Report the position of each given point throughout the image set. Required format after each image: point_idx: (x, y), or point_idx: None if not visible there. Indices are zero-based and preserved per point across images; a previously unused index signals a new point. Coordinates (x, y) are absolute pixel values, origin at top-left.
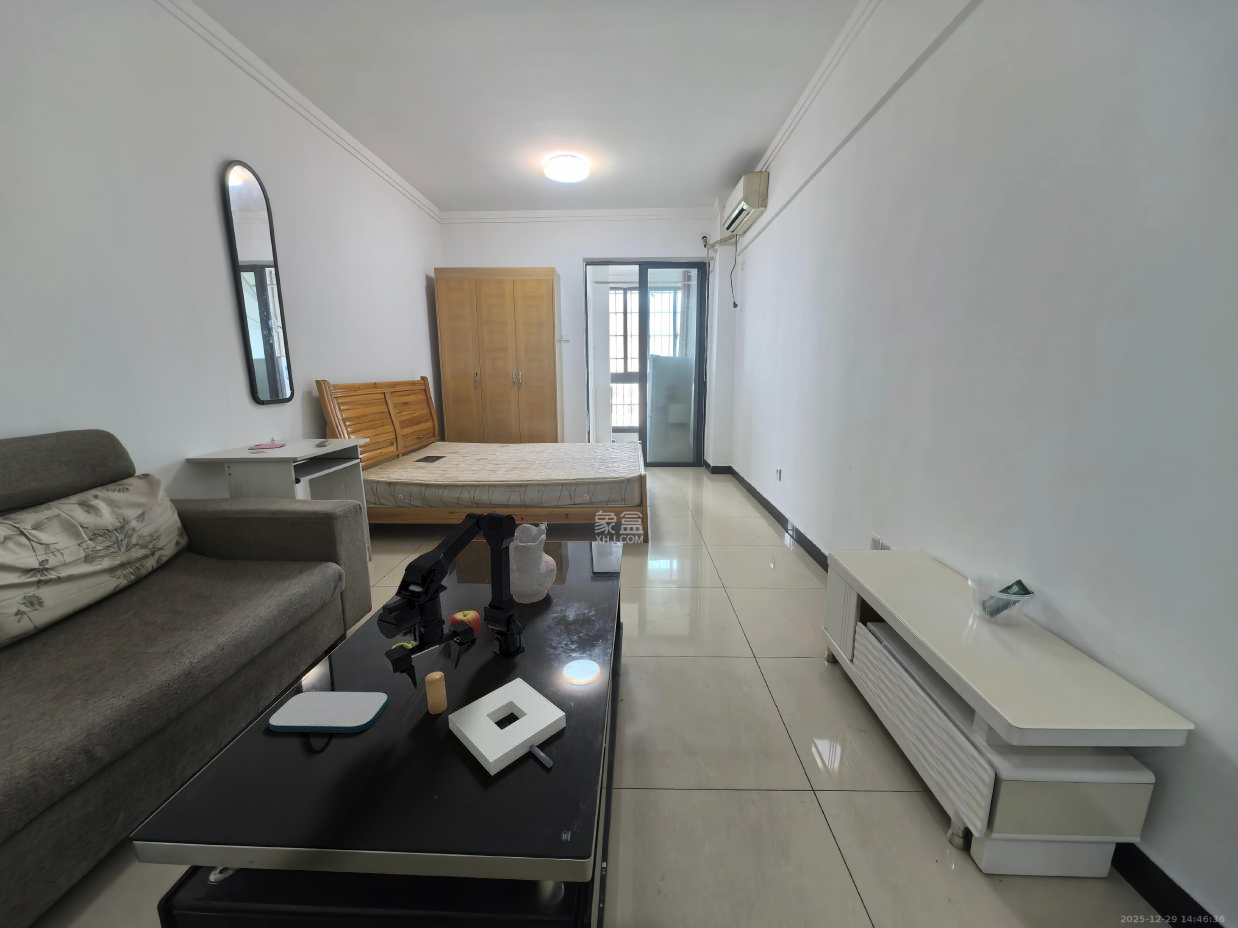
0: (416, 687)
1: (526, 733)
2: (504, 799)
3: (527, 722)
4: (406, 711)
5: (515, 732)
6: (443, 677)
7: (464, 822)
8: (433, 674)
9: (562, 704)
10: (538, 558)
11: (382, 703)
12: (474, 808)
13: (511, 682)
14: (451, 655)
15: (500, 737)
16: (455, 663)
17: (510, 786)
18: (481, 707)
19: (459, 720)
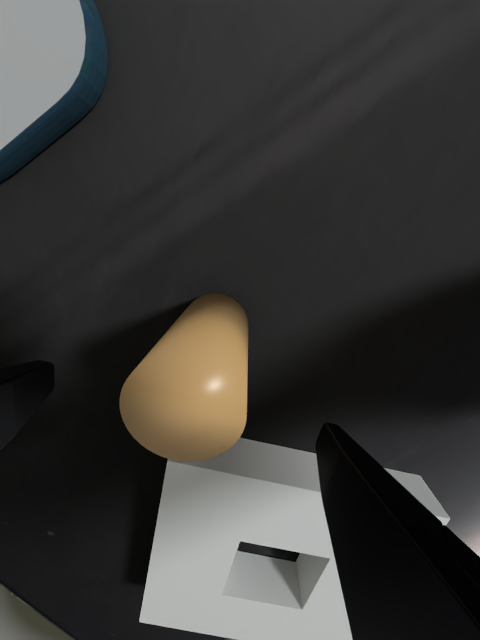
0: (46, 396)
1: (247, 631)
2: (135, 609)
3: (277, 620)
4: (131, 235)
5: (235, 616)
6: (221, 448)
7: (64, 590)
8: (195, 384)
9: None
10: None
11: (44, 105)
12: (90, 588)
13: None
14: (381, 517)
15: (202, 602)
16: (327, 524)
17: None
18: (258, 512)
19: (177, 499)
